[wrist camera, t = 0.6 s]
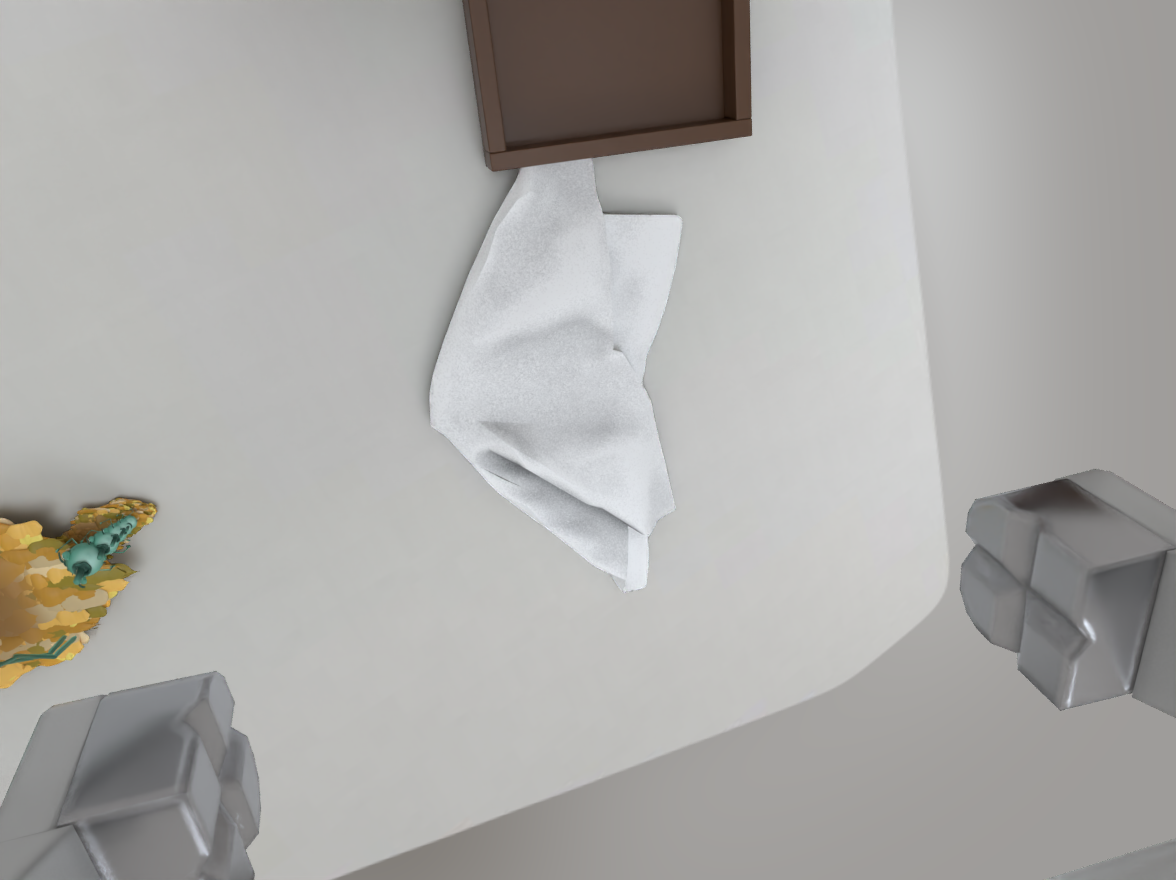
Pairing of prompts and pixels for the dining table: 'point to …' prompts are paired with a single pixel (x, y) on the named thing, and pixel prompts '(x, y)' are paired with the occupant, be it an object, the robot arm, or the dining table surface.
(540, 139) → the tray
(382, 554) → the dining table surface
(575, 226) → the cloth
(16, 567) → the frog figurine
